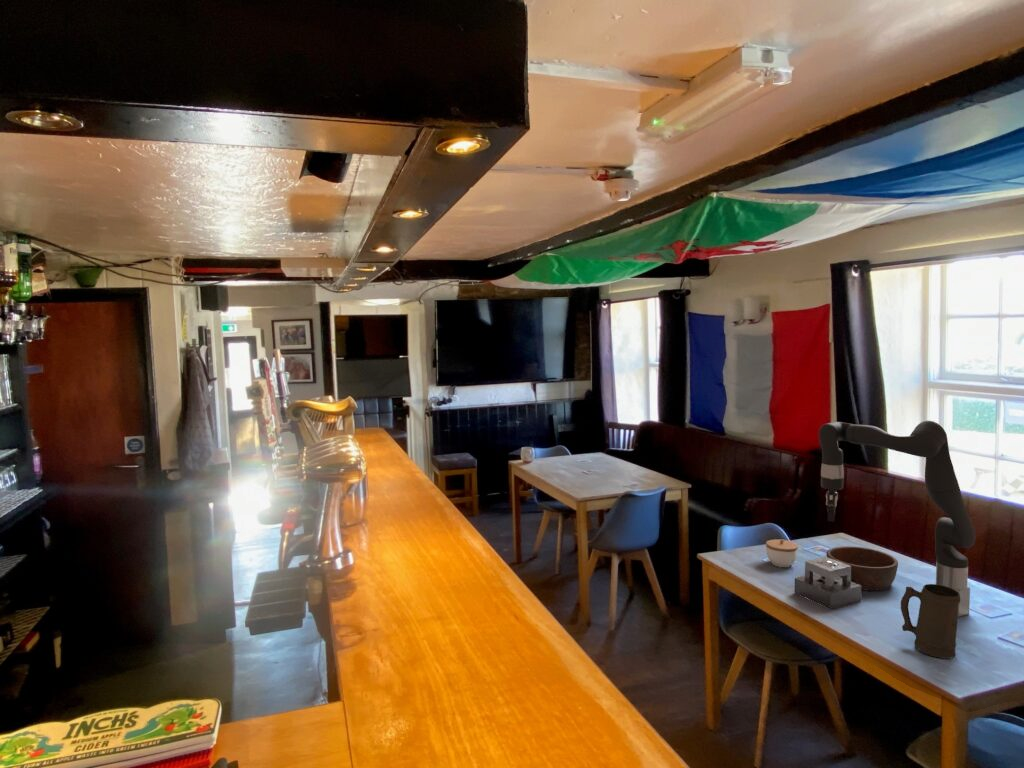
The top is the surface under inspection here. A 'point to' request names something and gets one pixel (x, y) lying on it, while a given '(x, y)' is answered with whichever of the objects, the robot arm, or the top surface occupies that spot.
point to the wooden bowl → (867, 566)
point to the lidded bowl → (781, 552)
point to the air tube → (829, 564)
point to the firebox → (828, 584)
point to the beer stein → (933, 619)
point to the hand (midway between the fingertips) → (831, 517)
